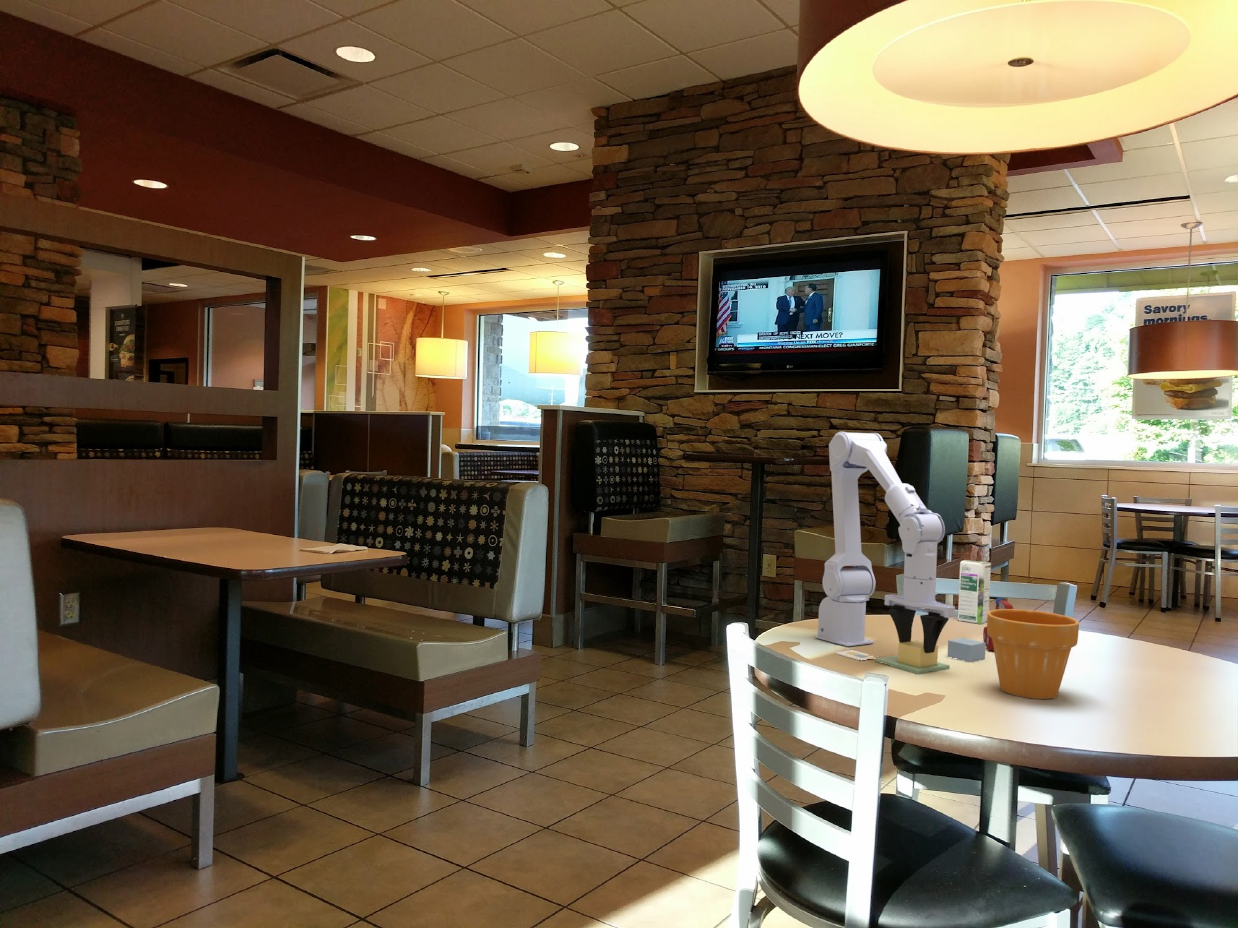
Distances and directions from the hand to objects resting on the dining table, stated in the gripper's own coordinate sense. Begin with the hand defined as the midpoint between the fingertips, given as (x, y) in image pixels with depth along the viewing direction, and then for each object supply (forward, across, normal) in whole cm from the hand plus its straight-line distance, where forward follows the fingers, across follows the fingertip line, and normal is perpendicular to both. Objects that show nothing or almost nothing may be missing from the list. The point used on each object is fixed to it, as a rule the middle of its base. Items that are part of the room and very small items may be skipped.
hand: (917, 649), depth 168 cm
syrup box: (+3, +24, -51) cm, 56 cm away
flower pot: (+3, -21, -3) cm, 22 cm away
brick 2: (+3, 0, -15) cm, 15 cm away
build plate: (+3, +1, 0) cm, 3 cm away
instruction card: (+3, +11, +4) cm, 12 cm away
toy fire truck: (+3, +2, -30) cm, 30 cm away
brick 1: (+3, 0, 0) cm, 3 cm away
